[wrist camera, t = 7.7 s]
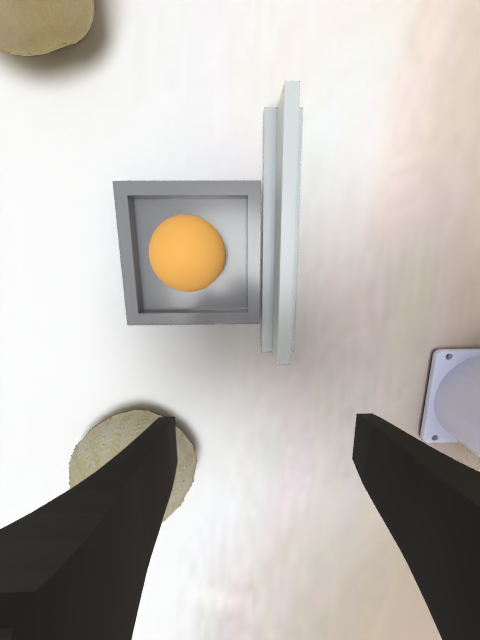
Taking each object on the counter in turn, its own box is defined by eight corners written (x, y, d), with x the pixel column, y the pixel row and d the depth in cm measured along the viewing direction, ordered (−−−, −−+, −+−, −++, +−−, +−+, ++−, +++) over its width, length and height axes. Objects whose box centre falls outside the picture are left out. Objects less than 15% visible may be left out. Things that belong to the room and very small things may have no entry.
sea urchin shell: (43, 433, 20) (71, 477, 14) (141, 383, 25) (190, 400, 20) (86, 530, 22) (126, 602, 16) (169, 465, 27) (221, 502, 22)
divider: (301, 110, 17) (315, 80, 14) (292, 349, 21) (301, 364, 18) (263, 110, 17) (269, 80, 14) (261, 350, 21) (265, 365, 18)
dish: (258, 187, 18) (260, 180, 17) (257, 318, 20) (259, 323, 19) (123, 188, 18) (112, 181, 16) (136, 319, 20) (127, 325, 18)
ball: (225, 220, 18) (224, 208, 14) (226, 287, 19) (225, 296, 15) (157, 219, 18) (134, 207, 14) (161, 287, 19) (141, 296, 15)
